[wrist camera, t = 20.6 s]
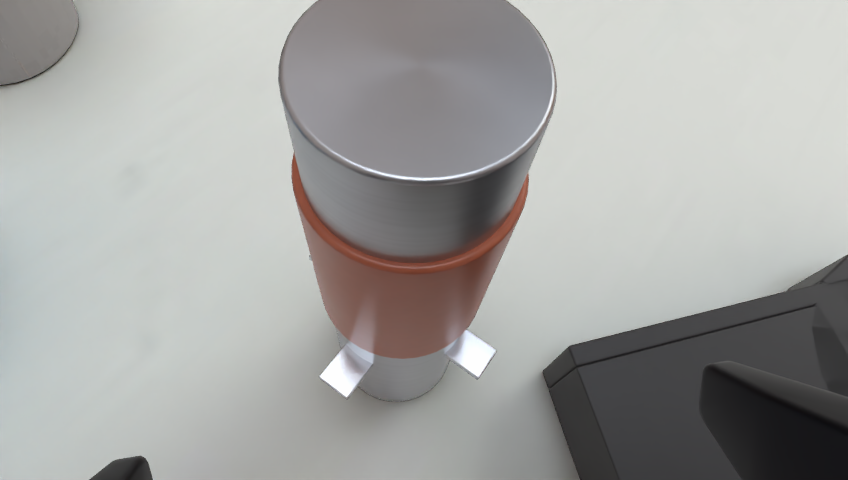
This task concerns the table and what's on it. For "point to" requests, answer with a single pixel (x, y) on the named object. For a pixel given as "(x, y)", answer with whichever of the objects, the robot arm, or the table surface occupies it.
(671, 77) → the table surface
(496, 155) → the silver-capped orange cylinder
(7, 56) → the coffee cup
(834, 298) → the grinder base
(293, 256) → the table surface
